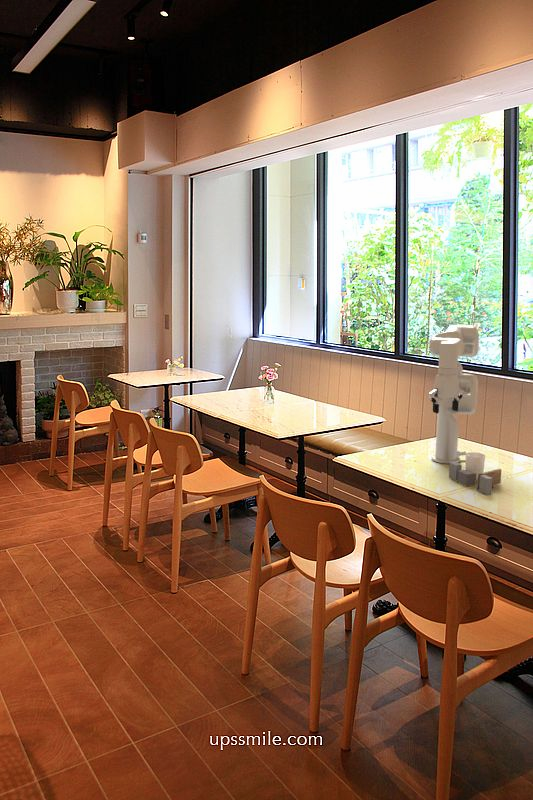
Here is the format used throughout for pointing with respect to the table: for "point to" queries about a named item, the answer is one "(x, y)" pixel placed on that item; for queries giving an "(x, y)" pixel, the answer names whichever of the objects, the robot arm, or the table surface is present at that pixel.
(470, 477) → the grey rectangular block
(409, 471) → the table surface
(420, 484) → the table surface
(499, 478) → the door
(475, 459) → the white cup
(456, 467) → the block
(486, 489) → the hinge jamb
